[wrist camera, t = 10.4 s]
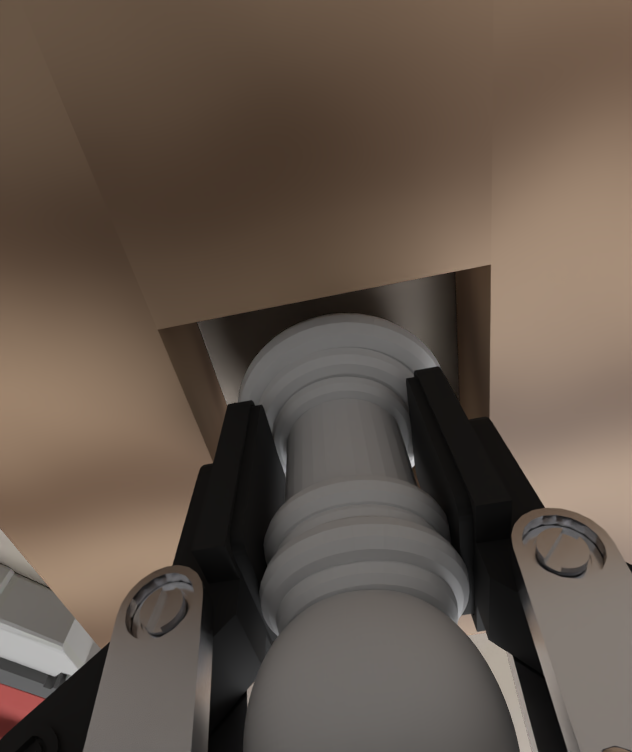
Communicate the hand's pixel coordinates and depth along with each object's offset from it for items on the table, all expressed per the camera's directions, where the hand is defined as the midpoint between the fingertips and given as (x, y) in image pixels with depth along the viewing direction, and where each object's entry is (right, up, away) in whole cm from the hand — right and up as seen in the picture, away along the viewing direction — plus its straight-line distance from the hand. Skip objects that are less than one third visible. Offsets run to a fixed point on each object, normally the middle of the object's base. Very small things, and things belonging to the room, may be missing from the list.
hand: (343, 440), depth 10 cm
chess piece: (0, +1, +2) cm, 2 cm away
